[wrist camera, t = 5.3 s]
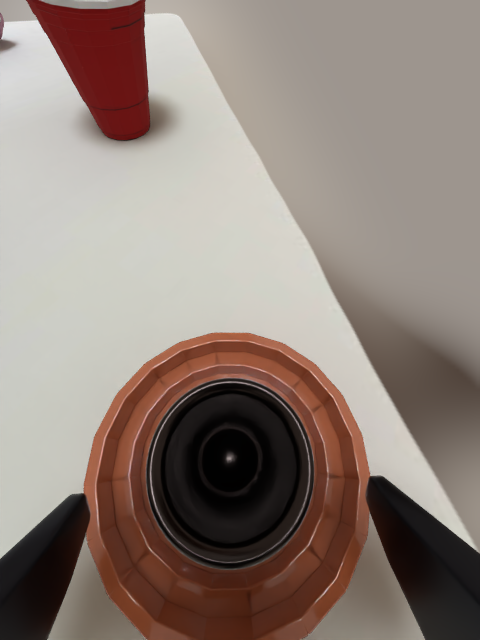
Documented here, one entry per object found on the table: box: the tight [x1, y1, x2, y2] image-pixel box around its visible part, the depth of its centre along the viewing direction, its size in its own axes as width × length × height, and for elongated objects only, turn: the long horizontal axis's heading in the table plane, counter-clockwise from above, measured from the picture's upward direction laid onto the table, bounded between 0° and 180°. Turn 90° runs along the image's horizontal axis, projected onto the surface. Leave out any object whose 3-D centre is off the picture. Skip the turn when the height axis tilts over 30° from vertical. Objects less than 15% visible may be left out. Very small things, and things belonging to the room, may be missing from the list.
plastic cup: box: [26, 0, 150, 140], centre depth 27 cm, size 11×11×12 cm
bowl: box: [84, 333, 370, 640], centre depth 15 cm, size 14×14×4 cm
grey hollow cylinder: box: [146, 378, 314, 570], centre depth 12 cm, size 4×4×10 cm
